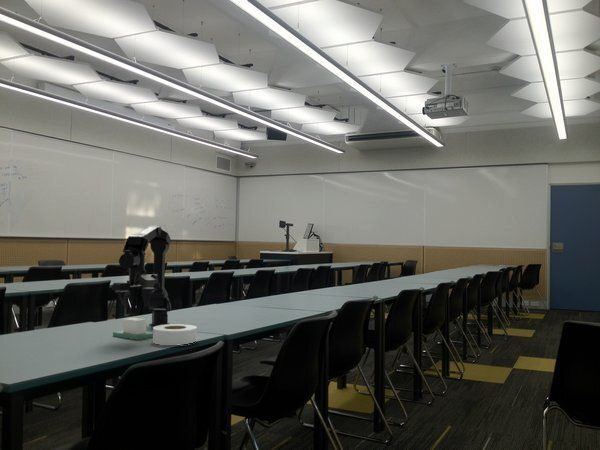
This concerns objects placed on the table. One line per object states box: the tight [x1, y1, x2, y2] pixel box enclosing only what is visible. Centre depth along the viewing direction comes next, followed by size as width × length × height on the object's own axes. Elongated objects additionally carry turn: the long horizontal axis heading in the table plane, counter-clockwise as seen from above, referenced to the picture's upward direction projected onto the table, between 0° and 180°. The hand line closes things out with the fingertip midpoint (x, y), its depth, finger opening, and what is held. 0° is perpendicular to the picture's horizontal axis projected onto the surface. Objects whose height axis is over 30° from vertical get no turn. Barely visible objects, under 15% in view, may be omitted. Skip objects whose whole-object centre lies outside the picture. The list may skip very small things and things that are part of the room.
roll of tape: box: [152, 323, 198, 346], centre depth 195 cm, size 16×16×6 cm
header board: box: [112, 330, 153, 341], centre depth 204 cm, size 14×9×4 cm, turn 56°
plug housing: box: [122, 317, 147, 334], centre depth 204 cm, size 8×4×5 cm, turn 57°
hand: (136, 307), depth 205 cm, fingers open, 9 cm apart
